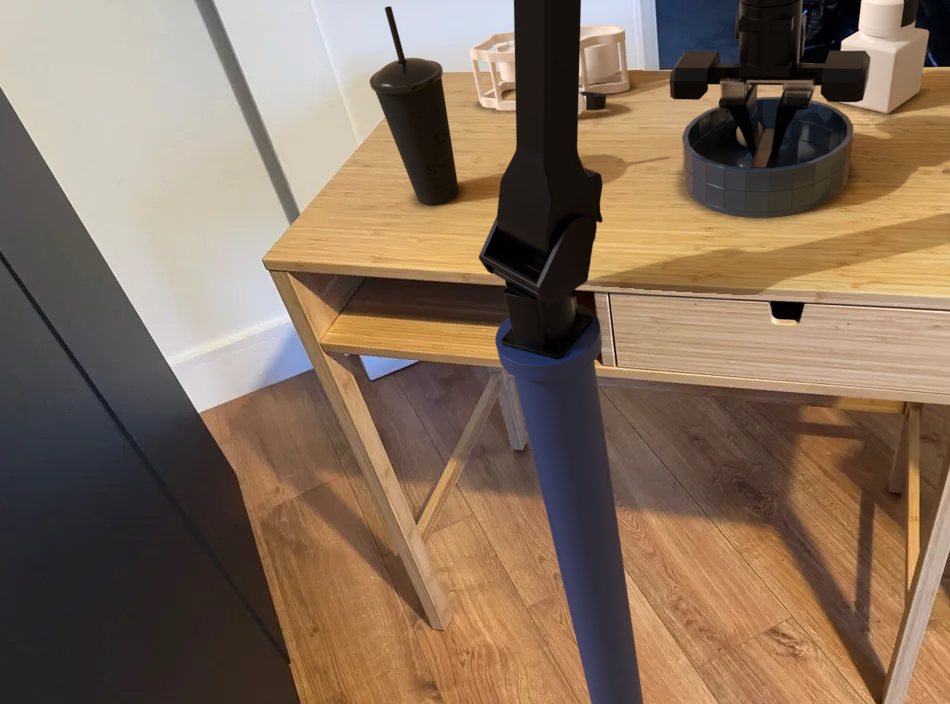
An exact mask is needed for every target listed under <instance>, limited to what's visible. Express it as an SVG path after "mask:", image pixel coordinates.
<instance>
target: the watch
mask: <svg viewBox="0 0 950 704" xmlns="http://www.w3.org/2000/svg"><path fill="white" fill-rule="evenodd" d="M606 108H607V93H606V94H602V93H594V92H579V102H578V116H580V115H581V114H582V113H583V112H587V111H602V110H606Z"/></svg>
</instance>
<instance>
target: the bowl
mask: <svg viewBox="0 0 950 704" xmlns="http://www.w3.org/2000/svg"><path fill="white" fill-rule="evenodd" d="M780 98H781V96H761V97H757V113H758V122H759V123H760V124H761V125H762V127H763V134H764V131H765V129H774V128H775V121H776V114H777V107H778V103H779V101H780ZM737 127H738V125H737V123H736V122H735V120H734V118H733V117H732V115H731V113H730V112H729V110H728V109H727V108H720V107H719V105H718V106H715V107H713V108H710V109H708V110H706V111H703V113H701V114H699V115H698V116H696V117H694V118H693V119H692V120H691V121H690V122H689V123H688V124H687V126H685V128H684V131H683V134H682V137H681V145H682V172H683V179H684V180H683V183H684V188H685V190H686V192H687V194H688V196H689V197H690V198H692V199H693V200H694V201H695V202H696V203H697V204H699V205H700V206H703V207H704V208H707V209H709V210H712V211H714V212H718V213H721V214H725V215H730V216H733V217H734V216H735V217H743V218H777V217H785V216H790V215H791V216H792V215H796V214H800V213H803V212H807V211H810V210H813V209H815V208H818V207H820V206H822V205H824V204H826V203H828V202H830V201H831V200H833V199H834V198H835V197H837V196H838V195H839V194H840V193H841V192H842V191H843V189H844V188H845V187H846V185H847V183H848V180H849V179H848V178H849V174H850V166H851V157H852V148H853V146H852V145H853V140H854V139H853V138H854V124H853V123H852V121H851V119H850V118H849V115H847V114H845V113H844V112H843V111H841V110H840V109H839V108H837V107H835V106H832V105H829V104H828V103H825V102H822V101H817V100H814V99H813V100H811V102H810V105H809V108H807V109H805V110H798V111H797V112H796V114H795V116H794V117H793V119H792V121H791V123H790V125H789V126H788V128H787V130H786V133H785V135H784V138H783V141H782V144H781V146H780V149H779V152H778V155H777V157H776V160H775V163H774V165H773V168H750V165H751V163H752V160H753V158H752V156H751V153H750V151H749V148H746V147H743V146H741V145H740V144H739V143H738V141H737V139H736V130H737Z"/></svg>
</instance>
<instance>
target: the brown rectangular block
mask: <svg viewBox="0 0 950 704" xmlns="http://www.w3.org/2000/svg"><path fill="white" fill-rule="evenodd" d="M773 134H774V129H765V131H764V134H763V136H762V139H761V141H760V143H759V146H758V148H757V151H756V153H755V155H754V158H753V160H752V163H751V165H750V168H773V165H774V163H775V160H772V152H771V148H772V141H773Z"/></svg>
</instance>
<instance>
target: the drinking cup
mask: <svg viewBox="0 0 950 704" xmlns="http://www.w3.org/2000/svg"><path fill="white" fill-rule="evenodd" d="M384 12H385V15H386V18H387V22H388V23H387V24H388V26H389V30H390V33H391V39H392V42H393V45H394V48H395V52H396V56H397V59H396V60H393V61H391V62H389V63H387V64H386V65H384V66H383V67H382V68H381V69H379V70H378V71H376V72H375V73H374V74H372V76H371V77H370V78H369V87H370V88H371V90H373V92H375V95H376V98H377V99H378V103H379V104H380V105H379V106H380V107H381V110H382V112H383V115H384V118H385V120H386V122H387V125H388V128H389V130H390V132H391V135H392V138H393V140H394V143H395V146H396V148H397V151H398V153H399V155H400V158H401V161H402V163H403V165H404V168H405V170H406V174H407V176H408V178H409V181H410V184H411V186H412V189H413V191H414V194H415V196H416V199H417V201H418V203H420V204H422V205H424V206H440V205H444V204H447V203H449V202H451V201H452V200H454V199H456V198H457V197H458V195H459V193H460V190H459V189H460V188H459V183H458V177H457V170H456V162H455V156H454V151H453V144H452V137H451V130H450V126H449V117H448V111H447V110H448V109H447V105H446V100H445V99H446V98H445V91H444V85H443V78H442V76H443V75H444V69H443V66H442V65H441V64H440V62H438V61H434V60H429V59H425V58H420V57H405V53H404V50H403V45H402V41H401V38H400V34H399V30H398V26H397V23H396V19H395V15H394V11H393V8H392V6H390V5H388V6H385V7H384Z"/></svg>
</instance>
